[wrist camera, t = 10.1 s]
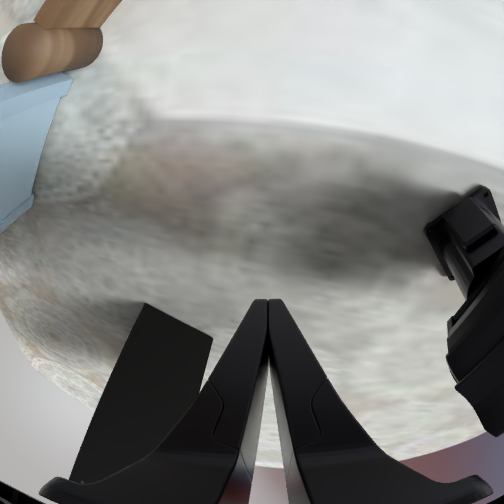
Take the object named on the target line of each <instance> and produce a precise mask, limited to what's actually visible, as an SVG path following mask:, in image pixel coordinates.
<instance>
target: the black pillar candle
mask: <svg viewBox="0 0 504 504" xmlns="http://www.w3.org/2000/svg"><path fill="white" fill-rule="evenodd" d="M212 341H213V338H212V337H210V336H208V335H206V334H204V333H202V332H200V331H198V330H196V329H194V328H192V327H190V326H188V325H186V324H184V323H182V322H180V321H178V320H176V319H174V318H172V317H170V316H168V315H166V314H165V313H163V312H161V311H159V310H157V309H155V308H153V307H151V306H150V305H148V304H146V303H145V304H144V306H143V308H142V310H141V312H140V314H139V316H138V318H137V320H136V322H135V324H134V326H133V328H132V330H131V332H130V335H129V337H128V339H127V341H126V342H125V345H124V347H123V349H122V351H121V354H120V356H119V358H118V360H117V362H116V364H115V367H114V369H113V371H112V373H111V376H110V378H109V380H108V382H107V385H106V387H105V389H104V391H103V394H102V396H101V398H100V401H99V403H98V405H97V408H96V409H95V413H94V415H93V417H92V420H91V422H90V425H89V427H88V430H87V433H86V435H85V437H84V440H83V443H82V445H81V447H80V451H79V453H78V456H77V458H76V461H75V464H74V466H73V469H72V472H71V475H70V477H69V480H70V481H73V482H76V483H79V484H91V483H96V482H98V481H101V480H103V479H105V478H107V477H109V476H111V475H113V474H115V473H117V472H119V471H121V470H123V469H125V468H126V467H128V466H130V465H132V464H134V463H136V462H138V461H139V460H141V459H143V458H145V457H146V456H147V455H149V454H150V453H151V452H152V451H154V450H155V449H156V448H157V446H158V445H159V444H160V443H161V442H162V441H163V440H164V438H165V437H166V436H167V435H168V434H169V432H170V431H171V430H172V429H173V428H174V426H175V425H176V424H177V423H178V421H179V420H180V419H181V418H182V417H183V415H184V414H185V413H186V411H187V410H188V409H189V407H190V406H191V405H192V403H193V402H194V401H195V399H196V397H197V396H198V394H199V391H200V388H201V384H202V380H203V376H204V372H205V368H206V364H207V360H208V357H209V353H210V349H211V345H212Z"/></svg>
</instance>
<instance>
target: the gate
mask: <svg viewBox="0 0 504 504" xmlns="http://www.w3.org/2000/svg"><path fill="white" fill-rule="evenodd" d="M72 81H73V78H71V77H69V76H68V75H66V74H64V73H63V72H58V73H53V74H49V75H45V76H41V77H38V78H34V79H30V80H27V81H23V82H20V83H15V82H9V83H6V84H3V85H0V234H1V233H2V232H3V231H4V230H5V229H6V228H7V227H8V226H10V225H11V224H12V223H13V222H14V221H15V220H16V219H17V218H19V217H20V216H21V215H22V214H23V213H24V212H26V211H27V210H28V209H29V208H30V207H31V206H32V204H33V200H34V194H32V193H31V192H32V187H33V183H34V179H35V175H36V171H37V167H38V164H39V160H40V157H41V153H42V150H43V147H44V143H45V140H46V137H47V134H48V131H49V128H50V125H51V122H52V119H53V116H54V114H55V111H56V108H57V106H58V103H59V100H60V98H61V97H62V96H65V95H67V93H68V90H69V88H70V86H71V83H72Z"/></svg>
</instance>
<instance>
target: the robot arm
mask: <svg viewBox="0 0 504 504" xmlns="http://www.w3.org/2000/svg"><path fill="white" fill-rule="evenodd" d="M485 192H486V194H485V195H484V193H485ZM431 229H433V230H432V231H431V232H429V231H430V230H431ZM424 232H425V234H426V236H427V238H428V240H429V242H430V243H431V245H432V247H433V249H434V251H435V253H436V255H437V257H438V258H439V260H440V262H441V264H442V266H443V268H444V270H445V272H446V274H447V276H448V278H449V280H451V281H452V280H456V282H457V284H458V286H459V288H460V290H461V292H462V294H463V296H464V298H465V300H466V301H465V302H464V304H463V305H462V306H461V307H460V309H459V310H458V311H457V312H456V314H455V315H454V316H452V317H451V318H450V319H449V320H448V321H447V328H448V338H447V345H448V354H447V355H446V361H447V364H448V366H449V369H450V372H451V374H452V376H453V378H454V380H455V381H456V383H457V384H456V385H455V389H456V391H458V392H459V393H460V394H461V395H462V396H464V397H465V398H466V399H467V401H468V402H469V403H470V404H471V405H472V407H473V408H474V410H475V412H476V413H477V415H478V417H479V419H480V421H481V423H482V425H483V427H484V429H485V430H486V431H487V432H489V433H490V434H492V435H493V436H495V437H499V436H500V435H502V434H503V433H504V225H503V224H502V223H501V221H500V217H499V214H498V211H497V208H496V205H495V202H494V199H493V197H492V194H491V191H490V190H489V189H488V188H487V187H486V186H483V187H481V188H480V189H479V190H477V191H476V192H474V193H473V194H472V195H470V196H469V197H467V198H466V199H464V200H463V201H461V202H460V203H459V204H457V205H456V206H454V207H453V208H451V209H450V210H448V211H447V212H446V213H444V214H443V215H441V216H440V217H438V218H437V219H435V220H434V221H432V222H431V223H429V224H428V225H427V226H426V227H425V228H424ZM452 274H453V275H452ZM268 367H270V375H271V382H272V389H273V396H274V403H275V410H276V416H277V423H278V430H279V437H280V444H281V451H282V458H283V465H284V472H285V478H286V486H287V493H288V500H289V504H472V503H475V502H477V501H479V500H481V499H483V498H485V497H487V496H489V495H491V494H493V490H492V488H491V487H490V486H489V484H488V483H486V482H485V481H484V480H483V479H482V478H481V477H479V476H478V475H472V476H469V477H466V478H463V479H461V480H458V481H455V482H452V483H440V482H436V481H433V480H431V479H429V478H427V477H425V476H424V475H422V474H420V473H418V472H416V471H414V470H413V469H411V468H409V467H407V466H406V465H404V464H402V463H400V462H399V461H397V460H395V459H394V458H392V457H390V456H389V455H387V454H386V453H385V452H384V451H383V450H381V449H380V448H379V447H378V446H377V444H376V443H375V442H374V441H373V440H372V438H371V437H370V436H369V435H368V434H367V432H366V431H365V430H364V429H363V427H362V426H361V425H360V424H359V422H358V421H357V420H356V419H355V417H354V416H353V415H352V414H351V412H350V411H349V410H348V408H347V407H346V406H345V404H344V403H343V401H342V400H341V398H340V397H339V395H338V394H337V392H336V391H335V389H334V387H333V386H332V384H331V382H330V381H329V379H328V378H327V376H326V374H325V372H324V371H323V369H322V367H321V366H320V364H319V362H318V360H317V359H316V357H315V355H314V354H313V352H312V350H311V348H310V347H309V345H308V343H307V342H306V340H305V338H304V336H303V335H302V333H301V331H300V330H299V328H298V326H297V325H296V323H295V321H294V319H293V318H292V316H291V314H290V313H289V311H288V309H287V308H286V306H285V304H284V302H283V301H282V300H281V299H269V300H267V299H255V300H254V301H253V303H252V304H251V306H250V308H249V310H248V311H247V313H246V315H245V317H244V318H243V320H242V322H241V324H240V325H239V327H238V329H237V330H236V332H235V334H234V336H233V337H232V339H231V341H230V343H229V344H228V346H227V348H226V349H225V351H224V353H223V355H222V356H221V358H220V360H219V361H218V363H217V365H216V366H215V368H214V370H213V371H212V373H211V375H210V377H209V378H208V380H209V381H206V383H205V385H204V386H203V388H202V390H201V391H200V393H199V394H198V396H197V397H196V399H195V401H194V402H193V403H192V405H191V406H190V407H189V409H188V410H187V411H186V413H185V414H184V415H183V417H182V418H181V419H180V420H179V421H178V423H177V424H176V425H175V426H174V428H173V429H172V430H171V431H170V432H169V434H168V435H167V436H166V437H165V438H164V440H163V441H162V442H161V443H160V444H159V445H158V446H157V448H156V449H155V450H154V451H152V452H151V453H150V454H149V455H147V456H146V457H145V458H143V459H141V460H139V461H138V462H136V463H134V464H132V465H130V466H128V467H126V468H125V469H123V470H121V471H119V472H117V473H115V474H113V475H111V476H109V477H107V478H105V479H103V480H101V481H98V482H96V483H91V484H79V483H76V482H73V481H70V480H67V479H65V478H61V477H55V478H53V479H52V480H50V481H49V482H48V483H46V484H45V485H44V486H43V487H42V488H41V490H40V491H39V495H41V496H43V497H45V498H47V499H49V500H51V501H54V502H56V503H58V504H248V503H249V497H250V491H251V485H252V484H251V483H252V479H253V473H254V466H255V460H256V453H257V447H258V440H259V433H260V426H261V419H262V412H263V405H264V398H265V391H266V383H267V376H268ZM0 504H46V503H43V502H41V501H39V500H37V499H35V498H33V497H31V496H29V495H27V494H25V493H23V492H21V491H19V490H17V489H15V488H14V487H12V486H9V485H8V484H6V483H4V482H2V481H0ZM485 504H504V494H503V495H501V496H499V497H497V498H495V499H494V500H491V501H489V502H487V503H485Z"/></svg>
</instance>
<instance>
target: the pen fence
mask: <svg viewBox="0 0 504 504" xmlns="http://www.w3.org/2000/svg"><path fill="white" fill-rule="evenodd" d="M121 1H122V0H46V1H45V2H44V4H43V5H42V7H41V9H40V10H39V12H38V13H37V15H36V17H35V18H34V21H35V22H36V23H26V24H21V25H19V26H17V27H16V28H14V29H13V30H12V32H11V33H10V34H9V36H8V37H7V39H6V41H5V44H4V47H3V51H2V68H3V71H4V73H5V75H6V77H7V78H8V79H9V80H10V81H12V82H15V83H20V82H23V81H27V80H30V79H34V78H38V77H41V76H45V75H49V74H53V73H58V72H62V71H67V70H71V69H76V68H81V67H85V66H88V65H90V64H91V63H92V62H93V61H94V60H95V59H96V58H97V57H98V55H99V53H100V51H101V48H102V44H103V36H102V32H101V30H100V27H101V26H102V24H103V23H104V22H105V20H106V19H107V18H108V17H109V15H110V14H111V13H112V12H113V10H114V9H115V8H116V7H117V6H118V4H119V3H120V2H121Z"/></svg>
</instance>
